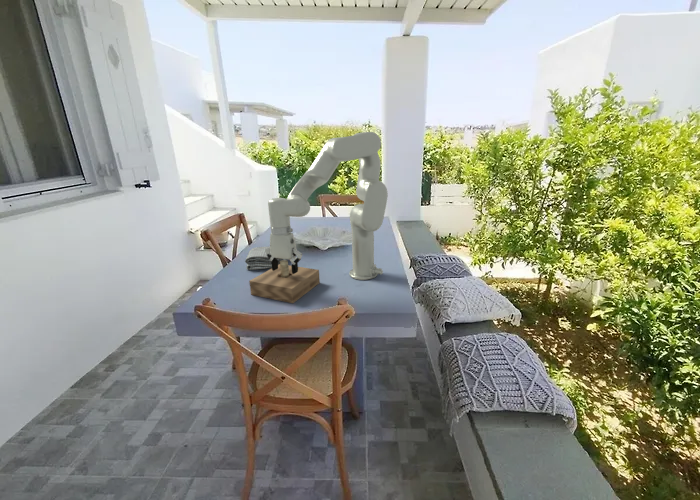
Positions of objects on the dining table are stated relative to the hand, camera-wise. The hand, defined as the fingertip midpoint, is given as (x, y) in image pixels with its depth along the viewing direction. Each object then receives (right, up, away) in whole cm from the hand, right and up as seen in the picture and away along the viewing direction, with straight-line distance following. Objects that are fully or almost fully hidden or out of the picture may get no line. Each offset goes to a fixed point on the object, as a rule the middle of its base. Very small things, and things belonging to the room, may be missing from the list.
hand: (285, 271), depth 131 cm
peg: (0, -6, +2) cm, 7 cm away
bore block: (0, -7, +2) cm, 8 cm away
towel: (-15, +1, +31) cm, 34 cm away
